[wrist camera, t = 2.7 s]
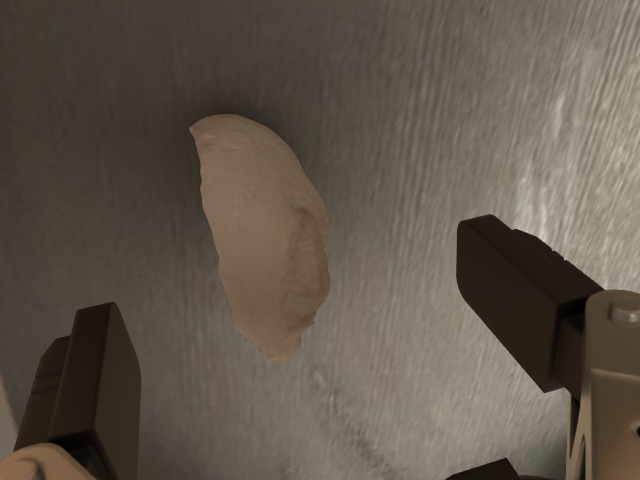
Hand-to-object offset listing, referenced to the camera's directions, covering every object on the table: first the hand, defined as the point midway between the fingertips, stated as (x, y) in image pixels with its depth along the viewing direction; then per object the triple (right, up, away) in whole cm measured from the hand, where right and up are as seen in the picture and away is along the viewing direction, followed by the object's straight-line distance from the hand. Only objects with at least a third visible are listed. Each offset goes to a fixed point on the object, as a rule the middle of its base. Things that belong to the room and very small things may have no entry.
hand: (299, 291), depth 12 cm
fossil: (-3, +5, +8) cm, 10 cm away
